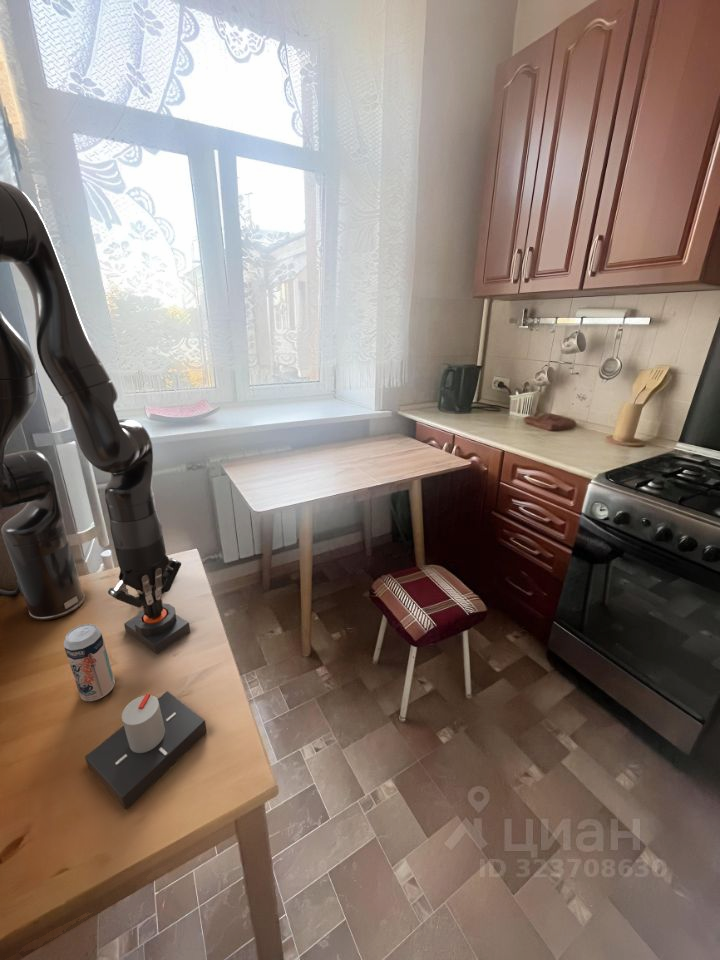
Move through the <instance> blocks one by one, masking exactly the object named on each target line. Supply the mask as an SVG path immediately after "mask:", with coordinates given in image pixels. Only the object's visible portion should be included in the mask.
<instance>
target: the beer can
mask: <svg viewBox="0 0 720 960" xmlns="http://www.w3.org/2000/svg"><path fill="white" fill-rule="evenodd" d="M103 637H104V636H103V634H102V629H101V628H100V627H98V626H97V625H95V624H92V623H84V624H83V623H82V624H80V625H78V626H76V627H73V628H72V629H70V630H69V631H68V632H67V634H66V635H65V638H64V641H63V647H64V650H65V654H66V657H67V661H68V662H69V666H70V669H71V673H72V675H73V677H74V678H73V679H74V682H75V684H76V687H77V691H78V694H79V696H80V698H81V700H83V701H85V702H93V701H98V700H100V699H102V698H103V697H105V696H106V695H108V694H109V693H111V691H112V690H113V688H115V687H114V686H115V684H116V680H115V677H114V674H113V670H112V666H111V661H110V659H109V655H108V652H107V648H106V645H105V641H104V638H103Z"/></svg>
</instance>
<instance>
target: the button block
mask: <svg viewBox="0 0 720 960" xmlns="http://www.w3.org/2000/svg"><path fill="white" fill-rule="evenodd" d="M162 606H163V609H165V610H166V612H167V617H166V618H165V619H163V620H162V621H160V622H158V623H155V624H145V623H144V620H143V617H144V615H145V614H144V609H142V610H140V611H139V612H138V613H137V614H136V616H133V618H130V619H129V620H128V621H126V622H124V623H123V625H124V628H125V633H126V634H128V635H129V636H130V637H132V638H133V639H134V640H136V641H137V642H139V643H141V645H144V647H145V648H147V649H148V650H150V651H151V652H153V653H154V654H155V655H159V654H161V652H163V651H164V650H166V649H167V648H169V647H170V646H172V645H174V644H175V643H176V642H177V641H179V640H180V639H182V638H183V637H184V636H186V635H187V634H189V633H190V632H191V627H190V622H189V621H187V620H186V619H184V618H182V617H181V616H179V615H178V614H176V609H175V607H174V606H173V605H171V604H170V603H162Z"/></svg>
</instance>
